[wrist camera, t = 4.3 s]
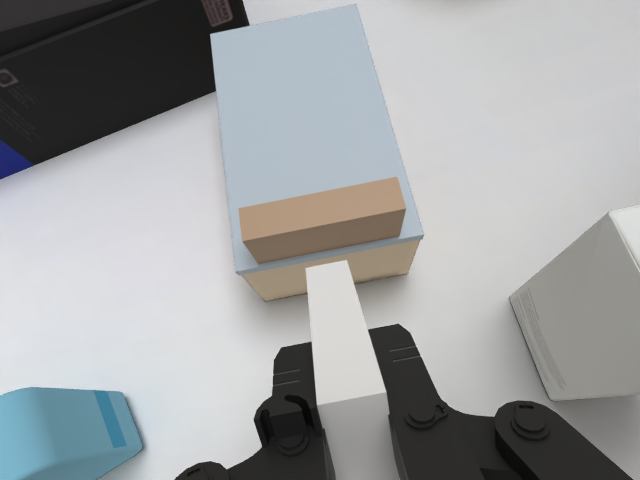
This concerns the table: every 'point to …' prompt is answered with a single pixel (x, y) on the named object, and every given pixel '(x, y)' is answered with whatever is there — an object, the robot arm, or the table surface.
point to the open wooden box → (360, 263)
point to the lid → (308, 143)
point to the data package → (64, 434)
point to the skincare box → (587, 312)
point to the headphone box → (99, 68)
